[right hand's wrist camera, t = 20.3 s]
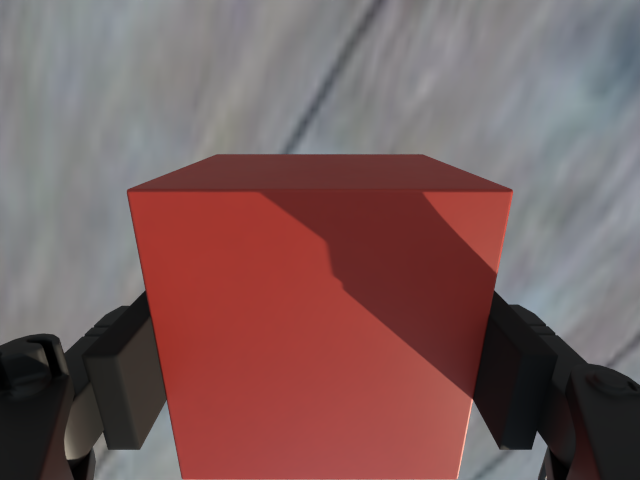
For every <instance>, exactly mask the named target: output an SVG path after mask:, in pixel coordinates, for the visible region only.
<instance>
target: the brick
mask: <svg viewBox="0 0 640 480" xmlns="http://www.w3.org/2000/svg"><path fill="white" fill-rule="evenodd" d="M512 195H513V190H512V189H509V188H507V187H504V186H502V185H499V184H497V183H494V182H492V181H489V180H486V179H484V178H481V177H479V176H476V175H474V174H471V173H469V172H466V171H463V170H461V169H458V168H456V167H453V166H451V165H448V164H446V163H443V162H441V161H438V160H435V159H433V158H430V157H428V156H425V155H346V154H217V155H214V156H212V157H209V158H207V159H204V160H202V161H199V162H196V163H194V164H191V165H189V166H186V167H184V168H181V169H179V170H176V171H174V172H171V173H168V174H166V175H163V176H161V177H158V178H156V179H153V180H151V181H148V182H145V183H143V184H140V185H138V186H135V187H133V188H130V189H128V190H127V196H128V201H129V206H130V212H131V217H132V222H133V227H134V232H135V238H136V243H137V248H138V253H139V258H140V264H141V269H142V274H143V279H144V284H145V290H146V295H147V300H148V305H149V310H150V316H151V321H152V326H153V331H154V336H155V342H156V347H157V352H158V357H159V362H160V368H161V373H162V378H163V383H164V388H165V394H166V399H167V404H168V409H169V414H170V419H171V425H172V430H173V435H174V440H175V445H176V451H177V456H178V461H179V466H180V471H181V477H182V479H457V478H458V475H459V470H460V464H461V459H462V454H463V449H464V444H465V439H466V433H467V428H468V423H469V418H470V413H471V407H472V402H473V397H474V392H475V387H476V381H477V376H478V371H479V366H480V361H481V356H482V350H483V345H484V340H485V335H486V330H487V324H488V319H489V314H490V309H491V304H492V298H493V293H494V288H495V283H496V278H497V273H498V267H499V262H500V257H501V252H502V247H503V241H504V236H505V231H506V226H507V221H508V216H509V210H510V205H511V200H512Z"/></svg>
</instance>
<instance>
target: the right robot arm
mask: <svg viewBox="0 0 640 480" xmlns="http://www.w3.org/2000/svg"><path fill="white" fill-rule="evenodd" d="M166 400H167V399H166V394H165V388H164V383H163V378H162V373H161V368H160V362H159V357H158V352H157V347H156V342H155V336H154V331H153V326H152V321H151V316H150V310H149V305H148V300H147V295H146V290H145V291H144V292H143V293H142V294H141V295H140V296H139V297H138V298H137V299H136V300H135V301H134V302H133V304H132V305H131V306H121V307H119V308H117V309H115V310H113V311H112V312H110V313H108V314H106V315H105V316H104V317H103V318H102V319H101V320H100V321H98V322H97V323H96V324H95V325H94V328H91V329H90V330H89V331H88V332H87V333H86V334H85V336H84V337H81V338H80V339H79V340H78V341H77V342H76V343H75V344H74V345H73V346H72V347H71V348H70V349H69V350H68V351H67V352H65V353H64V352H63V349H62V346H61V342H60V339H59V338H58V337H57V336H55V335H53V334H36V335H29V336H25V337H22V338H18V339H15V340H12V341H10V342H8V343H5V344H3V345H1V346H0V480H93V478H94V471H95V464H96V460H95V454H94V450H93V446H94V444H95V443H96V441H97V440H98V438H99V437H100V435H101V434H102V432H103V433H104V437H105V440H106V444H107V447H108V450H140V448H141V447H142V445H143V443H144V441H145V439H146V437H147V435H148V434H149V432H150V430H151V428H152V426H153V424H154V422H155V420H156V419H157V417H158V415H159V413H160V411H161V409H162V407H163V406H164V404H165V402H166ZM473 400H474V402H475V404H476V406H477V408H478V410H479V412H480V413H481V415H482V417H483V419H484V421H485V423H486V425H487V427H488V428H489V430H490V432H491V434H492V436H493V438H494V440H495V441H496V443H497V445H498V447H499V449H500V450H532V446H533V443H534V439H535V436H536V432H537V431H538V432H539V434H540V435H541V437H542V438H543V440H544V441H545V443H546V444H547V445H548V447H547V450H546V454H545V457H544V460H543V463H542V467H541V470H540V473H539V476H538V480H545V478H547V480H640V385H639V384H637V383H636V382H635V381H633V380H632V379H631V378H629V377H627V376H625V375H623V374H621V373H619V372H617V371H615V370H613V369H610V368H607V367H604V366H600V365H594V364H588V363H587V362H586V361H585V360H584V359H583V358H581V357H580V356H579V355H578V354H577V353H576V352H575V351H574V350H573V349H572V348H571V347H570V346H569V345H568V344H566V343H565V342H564V341H563V340H562V339H561V338H560V337H559V336H558V335H555V332H554V331H553V330H551V329H550V328H549V327H548V326H546V324H545V323H544V322H543V321H542V320H541V319H540V318H539V317H538V316H536V315H535V314H534V313H532V312H531V311H529V310H527V309H525V308H523V307H522V306H520V305H508V304H507V303H506V302H505V301H504V300H503V299H502V298H501V297H500V296H499V295H498V294H497V293H496V292H495V291H494V293H493V298H492V304H491V309H490V314H489V319H488V324H487V330H486V335H485V340H484V345H483V350H482V356H481V361H480V366H479V371H478V376H477V381H476V387H475V392H474V397H473Z"/></svg>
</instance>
